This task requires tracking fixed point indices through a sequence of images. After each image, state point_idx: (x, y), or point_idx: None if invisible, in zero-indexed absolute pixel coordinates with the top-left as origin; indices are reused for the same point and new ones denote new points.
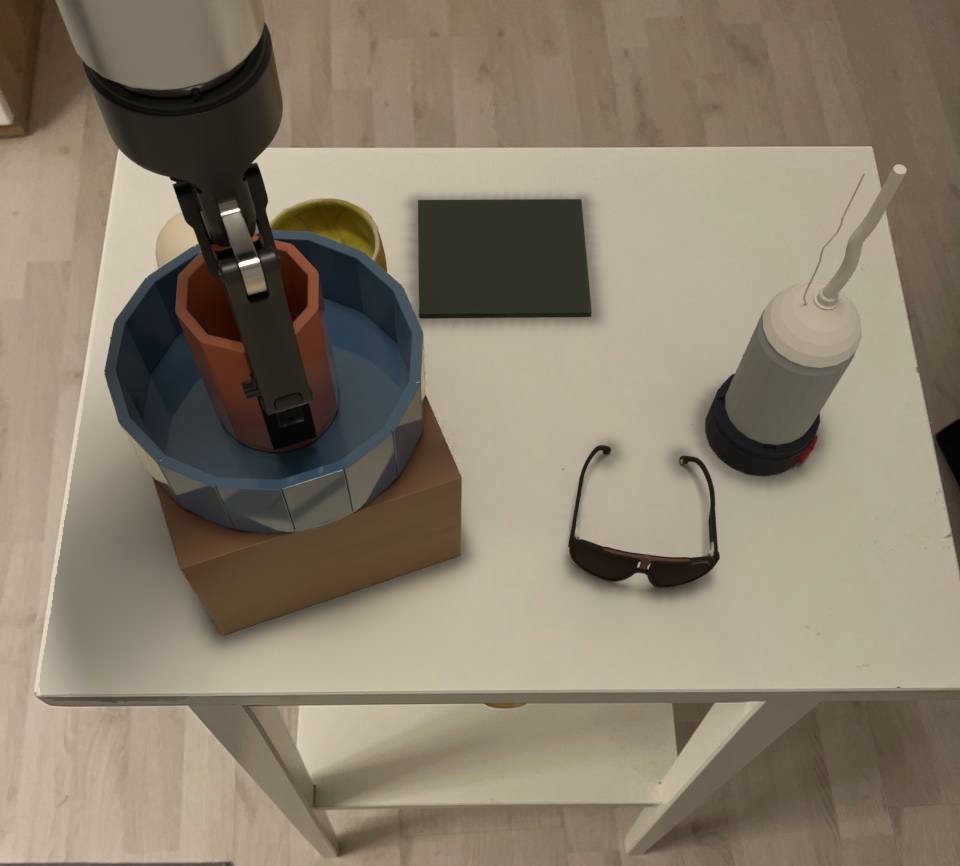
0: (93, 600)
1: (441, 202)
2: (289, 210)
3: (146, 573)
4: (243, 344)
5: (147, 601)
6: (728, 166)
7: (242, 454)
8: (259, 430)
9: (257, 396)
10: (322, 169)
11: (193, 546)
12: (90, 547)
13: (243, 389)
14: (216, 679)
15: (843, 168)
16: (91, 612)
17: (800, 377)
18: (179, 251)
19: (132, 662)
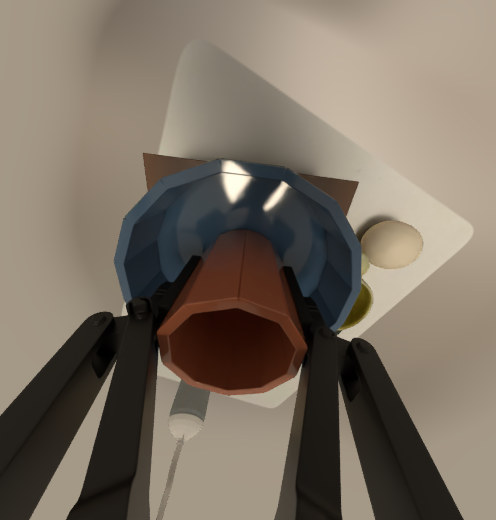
0: (234, 90)
1: (340, 330)
2: (370, 303)
3: (238, 132)
4: (122, 360)
5: (221, 125)
6: (292, 390)
7: (214, 230)
8: (203, 255)
9: (166, 292)
10: (391, 302)
11: (158, 170)
12: (269, 103)
13: (137, 304)
14: (164, 145)
15: (273, 406)
16: (227, 85)
17: (172, 408)
18: (397, 241)
19: (187, 99)
